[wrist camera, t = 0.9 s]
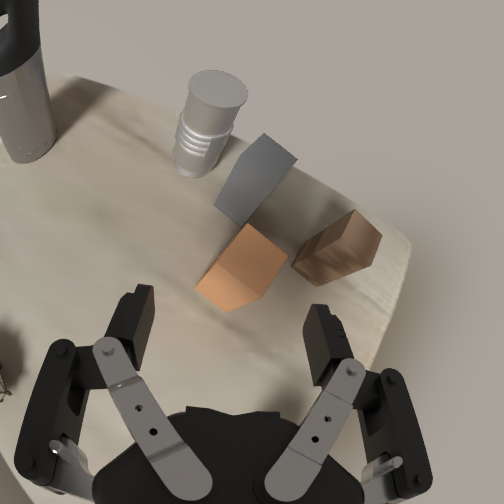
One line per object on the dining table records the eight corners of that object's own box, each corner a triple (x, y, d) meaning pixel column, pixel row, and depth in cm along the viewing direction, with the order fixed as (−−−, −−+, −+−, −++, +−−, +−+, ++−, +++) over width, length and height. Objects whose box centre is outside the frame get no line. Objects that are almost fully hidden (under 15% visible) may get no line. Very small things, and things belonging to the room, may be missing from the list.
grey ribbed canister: (179, 186, 39) (200, 112, 25) (164, 149, 40) (180, 72, 26) (222, 175, 42) (258, 105, 28) (205, 140, 43) (234, 68, 29)
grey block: (213, 205, 40) (240, 155, 29) (233, 183, 42) (263, 132, 31) (241, 227, 40) (277, 184, 30) (259, 204, 42) (297, 159, 32)
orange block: (194, 288, 35) (216, 262, 25) (217, 258, 38) (247, 222, 27) (225, 312, 36) (261, 297, 25) (246, 282, 38) (288, 255, 27)
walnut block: (291, 266, 41) (340, 237, 30) (305, 241, 43) (354, 208, 33) (316, 287, 42) (371, 265, 31) (329, 261, 44) (382, 235, 33)
